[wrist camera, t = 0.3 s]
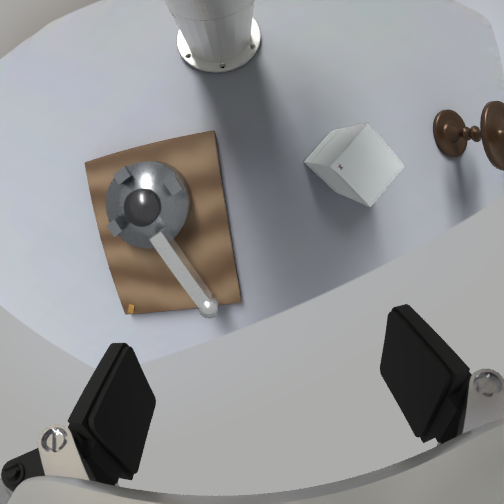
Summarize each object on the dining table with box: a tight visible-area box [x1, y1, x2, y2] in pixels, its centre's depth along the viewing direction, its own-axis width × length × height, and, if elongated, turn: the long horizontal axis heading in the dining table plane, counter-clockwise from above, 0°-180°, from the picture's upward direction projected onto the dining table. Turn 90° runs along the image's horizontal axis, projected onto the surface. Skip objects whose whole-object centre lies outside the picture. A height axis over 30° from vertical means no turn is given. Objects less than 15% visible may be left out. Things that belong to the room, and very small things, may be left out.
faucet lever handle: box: [105, 161, 219, 318], centre depth 38 cm, size 24×12×7 cm, turn 30°
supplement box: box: [304, 123, 404, 207], centre depth 35 cm, size 7×7×13 cm
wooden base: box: [85, 131, 241, 314], centre depth 42 cm, size 27×21×2 cm
